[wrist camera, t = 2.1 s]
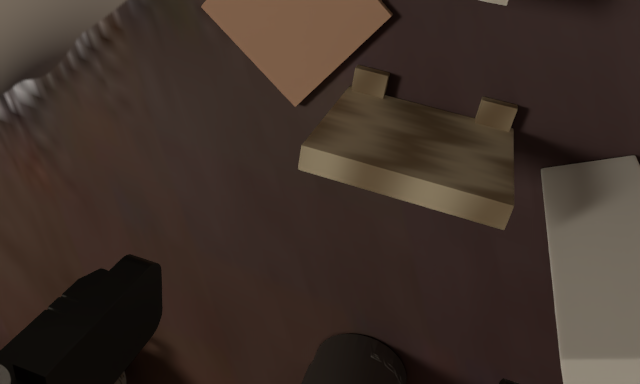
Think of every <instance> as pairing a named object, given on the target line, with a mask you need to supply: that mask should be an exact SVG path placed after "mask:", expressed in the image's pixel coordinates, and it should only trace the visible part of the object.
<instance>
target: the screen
mask: <svg viewBox="0 0 640 384" xmlns="http://www.w3.org/2000/svg"><path fill="white" fill-rule="evenodd" d="M389 77H390V73H389V72H385V71H381V70H377V69H373V68H369V67H365V66H361V65H357V67H356V68H355V73H354V78H353V83H352V86H349V88H348V89H347V90H346V91H345V92H344V94H343V95H342V96H341V97H340V99H339V100H338V101H337V102H336V104H335V105H334V106H333V107H332V108H331V110H330V111H329V112H328V113H327V115H326V116H325V117H324V118H323V120H322V121H321V122H320V123H319V124H318V126H317V127H316V128H315V129H314V131H313V132H312V133H311V134H310V136H309V137H308V138H307V139H306V140H305V142H304V143H303V144H302V146H301V153H300V159H299V166H298V170H302V171H305V172H308V173H312V174H315V175H319V176H322V177H325V178H329V179H332V180H336V181H339V182H342V183H346V184H349V185H352V186H356V187H359V188H363V189H366V190H369V191H373V192H376V193H380V194H383V195H386V196H390V197H393V198H397V199H400V200H403V201H407V202H410V203H414V204H417V205H420V206H424V207H427V208H430V209H434V210H437V211H441V212H444V213H447V214H451V215H454V216H458V217H461V218H464V219H468V220H471V221H475V222H478V223H481V224H485V225H488V226H492V227H495V228H498V229H502V230H504V229H505V227H506V224H507V222H508V220H509V217H510V215H511V212H512V210H513V208H514V129H513V128H511V126H512V123H513V120H514V118H515V115H516V113H517V110H518V105H515V104H511V103H507V102H503V101H499V100H495V99H491V98H488V97H484V96H483V97H482V100H481V103H480V106H479V109H478V112H477V115H476V118H471V117H467V116H463V115H459V114H456V113H452V112H448V111H444V110H440V109H436V108H433V107H429V106H425V105H421V104H417V103H413V102H410V101H406V100H402V99H398V98H394V97H391V96H387V95H385V94H386V89H387V85H388V81H389Z"/></svg>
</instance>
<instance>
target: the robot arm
mask: <svg viewBox="0 0 640 384" xmlns="http://www.w3.org/2000/svg"><path fill="white" fill-rule="evenodd" d="M161 315H162V277H161V266H160V265H159V264H158V263H155V262H152V261H149V260H146V259H143V258H140V257H137V256H134V255H131V254H129V255H126V256H124V257H123V258H122V259H121V260H120V261H119V262H118V263H117V264H116V265H115V266H114V267H113V268H111V269H110V270H109V271H108V270H105V269H102V268H100V269H98V270H96V271H94V272H92V273H90V274H88V275H86V276H84V277H82V278H80V279H78V280H77V281H76V282H75V283H74V284H73V285H72V286H71V287H69V288H68V289H67V290H66V291H65V292H64V293H63V294H62V296H61V298H60V297H58V298H57V299H56V300H55V301H54V302H53V303H52V304H51V305H50V306H49V307H48V310H44V311H43V312H42V313H41V314H40V315H39V316H38V317H37V318H35V319H34V320H33V321H32V322H31V323H30V324H29V325H28V326H27V327H26V328H25V329H23V330H22V331H21V332H20V333H19V334H18V335H17V336H16V337H15V338H14V339H12V340H11V341H10V342H9V343H8V344H7V345H6V346H5V347H4V348H3V349H2V350H0V384H114V383H115V382H116V381H117V380H118V378H119V377H120V376H121V375H122V373H123V372H124V371H125V370H126V368H127V367H128V366H129V364H130V363H131V362H132V361H133V359H134V358H135V357H136V356H137V354H138V353H139V352H140V351H141V349H142V348H143V347H144V346H145V344H146V343H147V342H148V341H149V339H150V338H151V337H152V335H153V334H154V332H155V331H156V329H157V327H158V325H159V322H160V319H161ZM406 380H407V374H406V371H405V367H404V365H403V363H402V362H401V360H400V359H399V357H398V356H397V355H396V354H395V353H394V352H393V351H392V350H391V349H390V348H388V347H387V346H386V345H384V344H382V343H381V342H379V341H377V340H375V339H372V338H370V337H366V336H362V335H358V334H341V335H337V336H333V337H331V338H329V339H327V340H325V341H324V342H323V343H322V344H321V345H320V347H319V349H318V351H317V353H316V355H315V357H314V360H313V362H312V364H310V365H309V367H308V369H307V372H306V374H305V376H304V379H303V381H302V383H301V384H406ZM499 384H519V383H516V382H513V381H510V380H507V379H504V378H503V379H502V380H501V381H500V383H499Z"/></svg>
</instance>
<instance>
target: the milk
mask: <svg viewBox="0 0 640 384" xmlns="http://www.w3.org/2000/svg"><path fill="white" fill-rule="evenodd" d="M541 178H542V187H543V197H544V207H545V217H546V226H547V236H548V246H549V256H550V265H551V275H552V285H553V295H554V305H555V314H556V324H557V334H558V344H559V353H560V363H561V370H562V377H563V384H640V164H639V162H638V160H637V158H636V156H635V155H632V156H625V157H618V158H611V159H604V160H597V161H590V162H583V163H576V164H569V165H562V166H555V167H548V168H542V169H541Z"/></svg>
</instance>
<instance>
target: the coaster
mask: <svg viewBox="0 0 640 384" xmlns="http://www.w3.org/2000/svg"><path fill="white" fill-rule="evenodd" d="M201 7H202V8H203V9H204V10H205V12H206V13H207V14H208V15H209V16H210V17H211V18H212V19H213V20H214V21H215V22H216V23H217V24H218V25H219V26H220V28H221V29H222V30H223V31H224V32H225V33H226V34H227V35H228V36H229V37H230V38H231V39H232V40H233V41H234V42H235V43H236V45H237V46H238V47H239V48H240V49H241V50H242V51H243V52H244V53H245V54H246V55H247V56H248V57H249V58H250V59H251V61H252V62H253V63H254V64H255V65H256V66H257V67H258V68H259V69H260V70H261V71H262V72H263V73H264V74H265V75H266V76H267V78H268V79H269V80H270V81H271V82H272V83H273V84H274V85H275V86H276V87H277V88H278V89H279V90H280V91H281V92H282V94H283V95H284V96H285V97H286V98H287V99H288V100H289V101H290V102H291V103H292V104H293V105H294V106H295V107H296V106H297V105H298V104H299V103H300V102H301V101H302V100H303V99H304V98H305V97H306V96H307V95H308V94H309V93H311V92H312V91H313V90H314V89H315V88H316V87H317V86H318V85H319V84H320V83H321V82H322V81H323V80H324V79H325V78H326V77H328V76H329V75H330V74H331V73H332V72H333V71H334V70H335V69H336V68H337V67H338V66H339V65H340V64H341V63H342V62H343V61H344V60H346V59H347V58H348V57H349V56H350V55H351V54H352V53H353V52H354V51H355V50H356V49H357V48H358V47H359V46H360V45H361V44H363V43H364V42H365V41H366V40H367V39H368V38H369V37H370V36H371V35H372V34H373V33H374V32H375V31H376V30H377V29H378V28H379V27H381V26H382V25H383V24H384V23H385V22H386V21H387V20H388V19H389V18H390V17H391V16H392V15H393V13H392V12H391V11H390V10H389V9H388V8H387V7H386V5H385V4H384V3H383V2H382V1H381V0H206V1H205V2H204V4H203V5H202V6H201Z"/></svg>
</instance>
